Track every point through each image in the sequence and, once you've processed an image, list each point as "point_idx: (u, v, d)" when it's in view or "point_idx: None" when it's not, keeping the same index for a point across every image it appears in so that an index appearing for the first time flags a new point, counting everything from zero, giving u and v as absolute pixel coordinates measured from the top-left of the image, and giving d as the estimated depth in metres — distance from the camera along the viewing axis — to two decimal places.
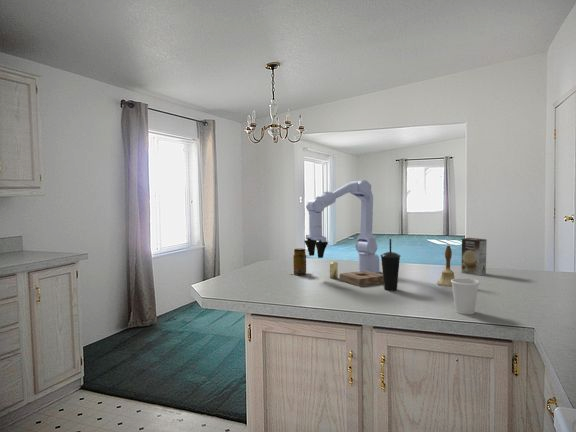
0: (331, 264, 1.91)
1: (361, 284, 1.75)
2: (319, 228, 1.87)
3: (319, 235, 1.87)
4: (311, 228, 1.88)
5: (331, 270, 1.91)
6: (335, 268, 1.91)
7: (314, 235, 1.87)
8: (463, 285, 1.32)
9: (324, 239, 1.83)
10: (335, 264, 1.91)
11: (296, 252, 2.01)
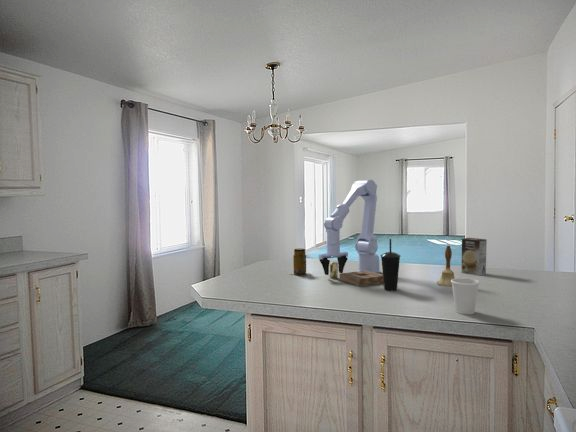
0: (331, 264, 1.91)
1: (361, 284, 1.75)
2: (328, 246, 1.90)
3: (328, 252, 1.91)
4: None
5: (331, 270, 1.91)
6: (335, 268, 1.91)
7: (327, 252, 1.93)
8: (463, 285, 1.32)
9: (319, 257, 1.89)
10: (335, 264, 1.91)
11: (296, 252, 2.01)
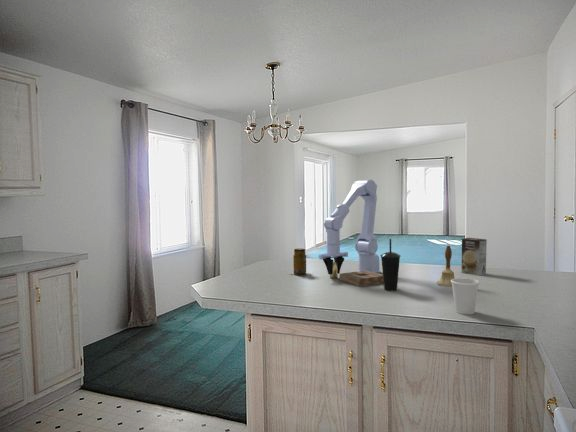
0: None
1: (361, 284, 1.75)
2: (328, 246, 1.90)
3: (328, 252, 1.91)
4: None
5: None
6: (335, 268, 1.91)
7: (327, 252, 1.93)
8: (463, 285, 1.32)
9: (319, 257, 1.89)
10: (335, 264, 1.91)
11: (296, 252, 2.01)
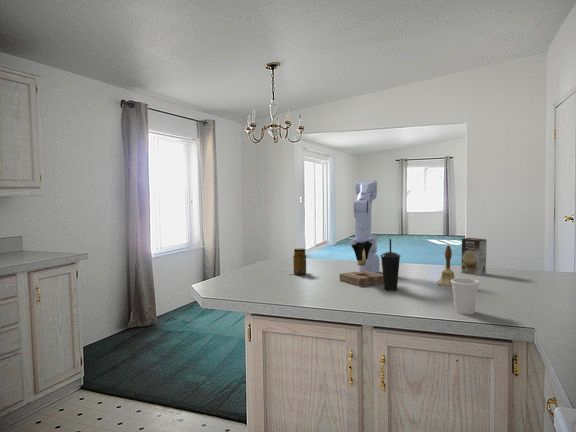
0: None
1: (361, 284, 1.75)
2: (358, 230, 1.81)
3: (358, 238, 1.81)
4: None
5: None
6: (364, 254, 1.82)
7: (355, 237, 1.83)
8: (463, 285, 1.32)
9: (351, 242, 1.78)
10: (364, 250, 1.82)
11: (296, 252, 2.01)
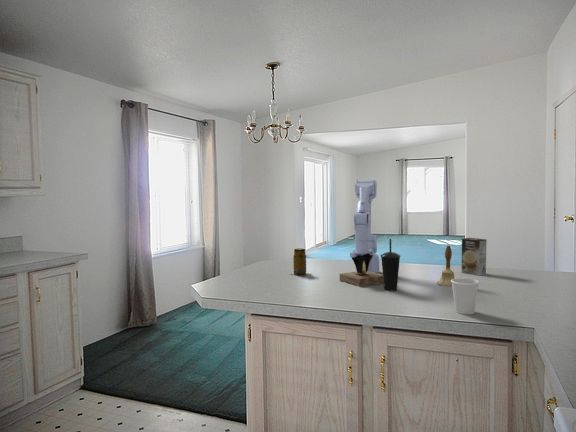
0: None
1: (361, 284, 1.75)
2: (358, 243, 1.81)
3: (358, 250, 1.81)
4: None
5: None
6: (364, 266, 1.83)
7: (355, 249, 1.83)
8: (463, 285, 1.32)
9: (351, 255, 1.78)
10: (364, 262, 1.83)
11: (296, 252, 2.01)
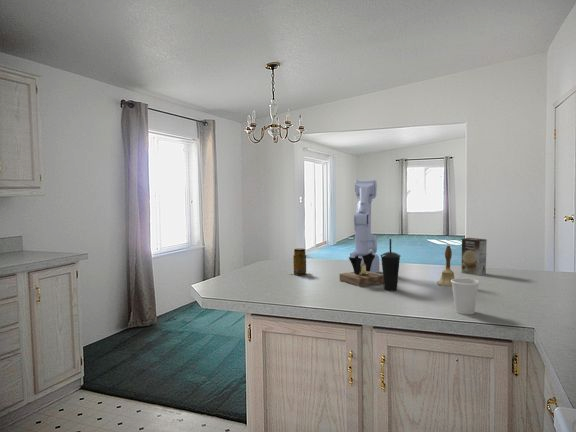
0: (361, 266, 1.82)
1: (361, 284, 1.75)
2: (358, 243, 1.81)
3: (358, 250, 1.81)
4: None
5: (361, 272, 1.82)
6: (365, 270, 1.83)
7: (355, 250, 1.83)
8: (463, 285, 1.32)
9: (351, 255, 1.78)
10: (365, 265, 1.83)
11: (296, 252, 2.01)
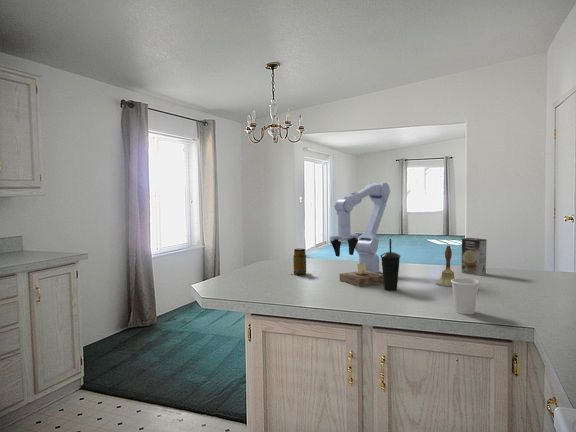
0: (361, 266, 1.82)
1: (361, 284, 1.75)
2: (339, 227, 1.91)
3: (339, 234, 1.92)
4: None
5: (361, 272, 1.82)
6: (365, 270, 1.83)
7: (338, 234, 1.94)
8: (463, 285, 1.32)
9: (331, 238, 1.90)
10: (364, 265, 1.83)
11: (296, 252, 2.01)
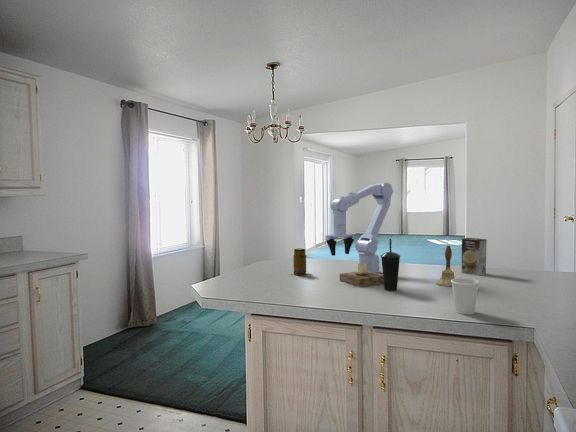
0: (361, 266, 1.82)
1: (361, 284, 1.75)
2: (335, 227, 1.94)
3: (335, 234, 1.94)
4: None
5: (361, 272, 1.82)
6: (365, 270, 1.83)
7: None
8: (463, 285, 1.32)
9: (326, 238, 1.92)
10: (365, 265, 1.83)
11: (296, 252, 2.01)
